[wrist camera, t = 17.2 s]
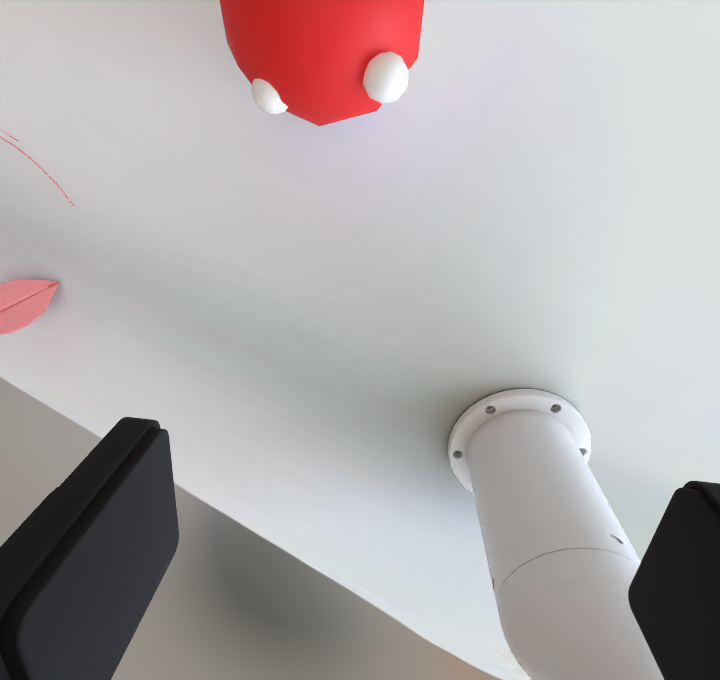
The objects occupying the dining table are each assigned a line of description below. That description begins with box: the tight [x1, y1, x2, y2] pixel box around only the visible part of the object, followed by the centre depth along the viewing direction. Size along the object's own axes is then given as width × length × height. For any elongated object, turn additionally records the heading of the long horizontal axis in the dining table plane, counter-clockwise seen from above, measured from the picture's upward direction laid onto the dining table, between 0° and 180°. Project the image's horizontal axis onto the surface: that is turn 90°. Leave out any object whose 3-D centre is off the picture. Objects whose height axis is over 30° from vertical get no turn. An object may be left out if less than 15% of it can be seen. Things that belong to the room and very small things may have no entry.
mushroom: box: [220, 0, 424, 126], centre depth 26 cm, size 11×11×12 cm
